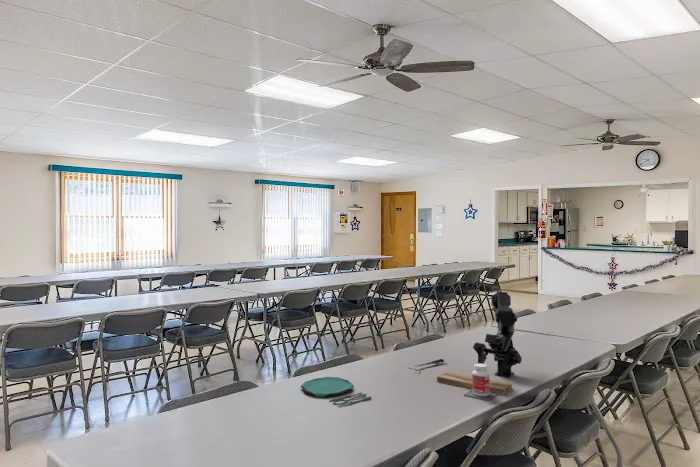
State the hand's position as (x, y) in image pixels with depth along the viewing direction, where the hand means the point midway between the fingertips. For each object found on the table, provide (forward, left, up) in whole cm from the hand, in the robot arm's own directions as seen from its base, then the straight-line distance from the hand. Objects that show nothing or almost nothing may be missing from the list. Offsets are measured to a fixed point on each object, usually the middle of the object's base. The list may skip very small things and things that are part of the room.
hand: (488, 371), depth 187 cm
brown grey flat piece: (+1, -8, -8) cm, 11 cm away
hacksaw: (-16, -35, -8) cm, 39 cm away
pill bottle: (+6, -1, -8) cm, 10 cm away
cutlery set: (+36, -48, -8) cm, 61 cm away
